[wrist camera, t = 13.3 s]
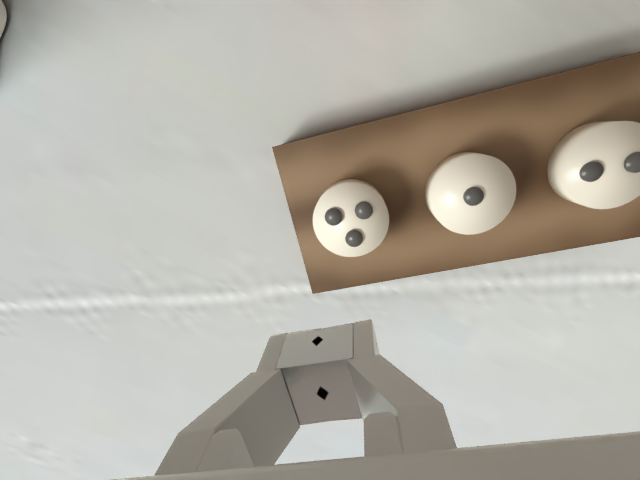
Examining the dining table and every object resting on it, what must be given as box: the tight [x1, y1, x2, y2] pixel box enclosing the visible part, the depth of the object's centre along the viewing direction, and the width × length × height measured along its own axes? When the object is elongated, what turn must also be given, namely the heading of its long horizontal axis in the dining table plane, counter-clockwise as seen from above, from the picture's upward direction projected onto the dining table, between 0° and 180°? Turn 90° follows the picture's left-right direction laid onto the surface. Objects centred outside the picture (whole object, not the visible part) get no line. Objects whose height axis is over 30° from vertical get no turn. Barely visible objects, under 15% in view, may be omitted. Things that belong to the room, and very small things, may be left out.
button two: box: [547, 121, 640, 209], centre depth 21 cm, size 5×5×2 cm
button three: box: [313, 179, 389, 257], centre depth 23 cm, size 5×5×2 cm
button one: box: [425, 152, 516, 235], centre depth 22 cm, size 5×5×2 cm
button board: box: [272, 52, 640, 294], centre depth 25 cm, size 12×25×3 cm, turn 104°
